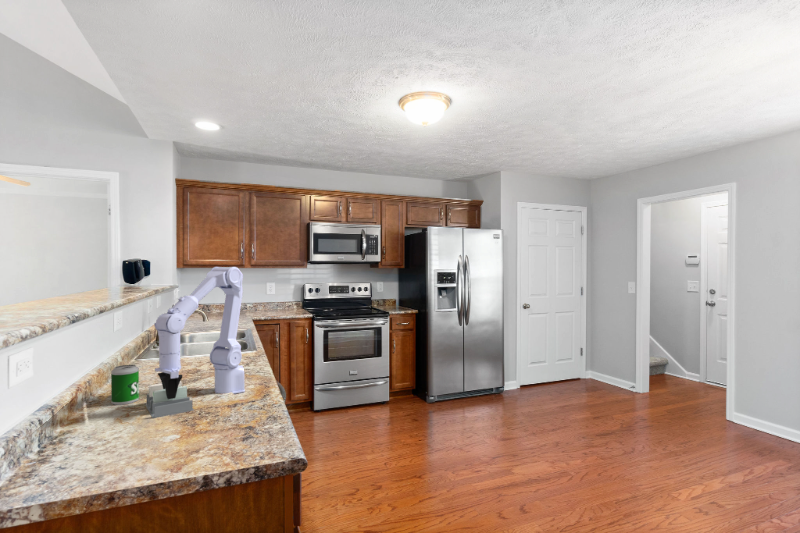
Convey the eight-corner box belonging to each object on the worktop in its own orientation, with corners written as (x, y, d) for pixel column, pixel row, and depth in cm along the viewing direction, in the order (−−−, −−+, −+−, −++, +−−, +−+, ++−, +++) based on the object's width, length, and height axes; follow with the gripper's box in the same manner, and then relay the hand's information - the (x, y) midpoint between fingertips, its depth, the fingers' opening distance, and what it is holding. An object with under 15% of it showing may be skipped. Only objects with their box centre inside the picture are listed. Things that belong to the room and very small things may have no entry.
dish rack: (182, 399, 141) (182, 388, 141) (194, 412, 128) (194, 400, 128) (144, 406, 134) (144, 394, 134) (152, 421, 122) (152, 408, 122)
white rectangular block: (180, 398, 139) (180, 380, 139) (181, 400, 138) (181, 381, 138) (148, 404, 134) (148, 385, 134) (149, 406, 132) (149, 386, 132)
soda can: (125, 408, 132) (125, 370, 132) (105, 406, 134) (105, 369, 134) (144, 400, 140) (144, 364, 140) (125, 399, 141) (125, 363, 141)
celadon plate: (185, 404, 133) (185, 385, 133) (187, 406, 132) (187, 387, 132) (152, 410, 128) (152, 391, 128) (154, 412, 126) (153, 392, 126)
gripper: (151, 350, 133) (151, 393, 133) (159, 358, 121) (159, 405, 122) (176, 347, 137) (176, 389, 137) (186, 355, 126) (186, 400, 126)
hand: (170, 396), depth 130 cm, fingers open, 3 cm apart
